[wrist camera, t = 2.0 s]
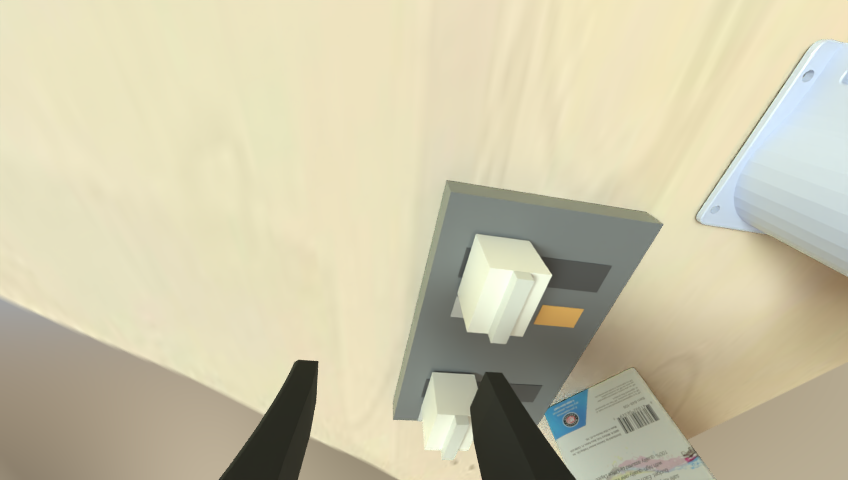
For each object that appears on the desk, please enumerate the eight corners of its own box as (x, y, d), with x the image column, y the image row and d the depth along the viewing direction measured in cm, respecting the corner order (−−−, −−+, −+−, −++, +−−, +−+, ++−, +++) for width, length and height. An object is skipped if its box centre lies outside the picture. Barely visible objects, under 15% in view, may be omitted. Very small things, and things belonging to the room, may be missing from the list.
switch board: (446, 180, 18) (451, 192, 16) (645, 212, 20) (664, 224, 18) (393, 401, 27) (393, 420, 26) (531, 407, 29) (537, 425, 28)
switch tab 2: (476, 233, 18) (493, 275, 14) (529, 240, 18) (557, 283, 15) (457, 293, 20) (469, 341, 16) (506, 298, 20) (526, 345, 17)
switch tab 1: (432, 372, 23) (438, 424, 20) (474, 374, 24) (486, 425, 20) (421, 407, 25) (425, 459, 22) (460, 409, 26) (469, 460, 22)
